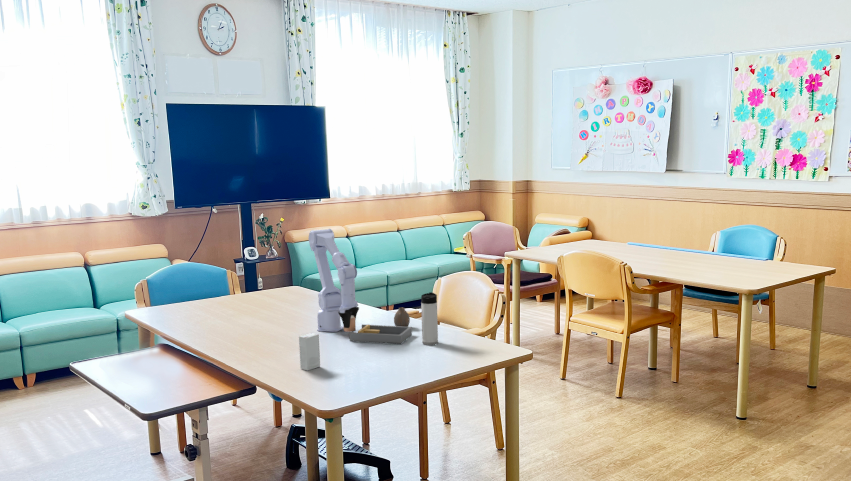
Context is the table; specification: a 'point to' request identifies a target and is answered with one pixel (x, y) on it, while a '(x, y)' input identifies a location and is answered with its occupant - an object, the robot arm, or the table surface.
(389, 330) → the lane
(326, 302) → the robot arm
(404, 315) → the brown rounded piece
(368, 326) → the pusher
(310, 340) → the skincare box
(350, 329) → the jar
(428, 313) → the travel mug
